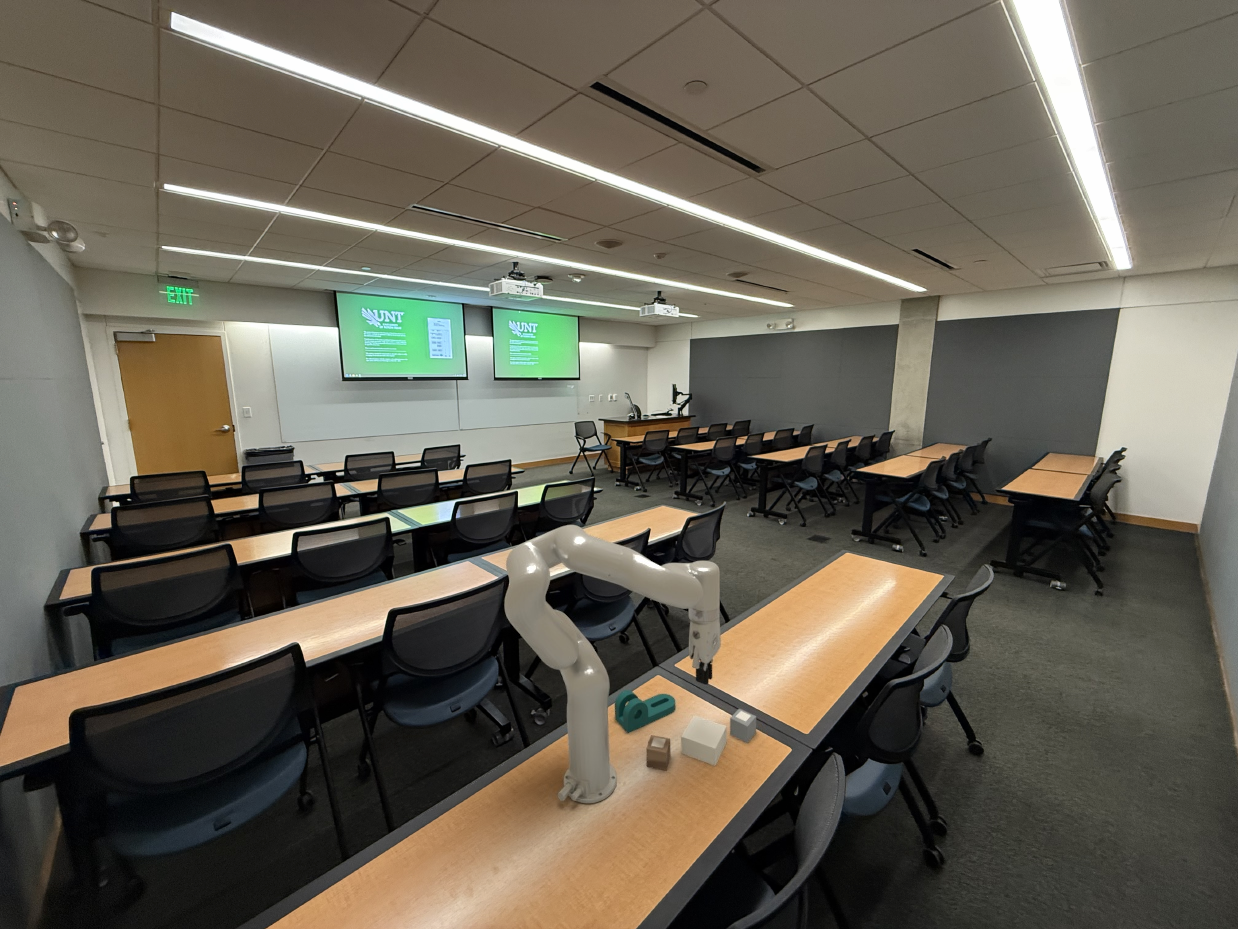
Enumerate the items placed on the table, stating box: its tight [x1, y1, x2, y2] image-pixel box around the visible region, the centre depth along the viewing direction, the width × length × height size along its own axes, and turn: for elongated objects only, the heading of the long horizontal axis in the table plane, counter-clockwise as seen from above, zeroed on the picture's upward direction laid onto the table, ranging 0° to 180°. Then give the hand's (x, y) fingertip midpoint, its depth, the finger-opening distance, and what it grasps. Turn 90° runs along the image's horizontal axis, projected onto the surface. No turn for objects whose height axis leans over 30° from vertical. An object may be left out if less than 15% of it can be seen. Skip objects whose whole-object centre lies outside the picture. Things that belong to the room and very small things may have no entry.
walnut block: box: [645, 734, 672, 772], centre depth 119 cm, size 5×5×5 cm
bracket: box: [614, 689, 676, 734], centre depth 136 cm, size 18×7×8 cm, turn 121°
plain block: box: [680, 714, 728, 767], centre depth 123 cm, size 9×9×5 cm
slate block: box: [729, 708, 757, 744], centre depth 128 cm, size 5×5×5 cm
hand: (704, 679), depth 121 cm, fingers closed
